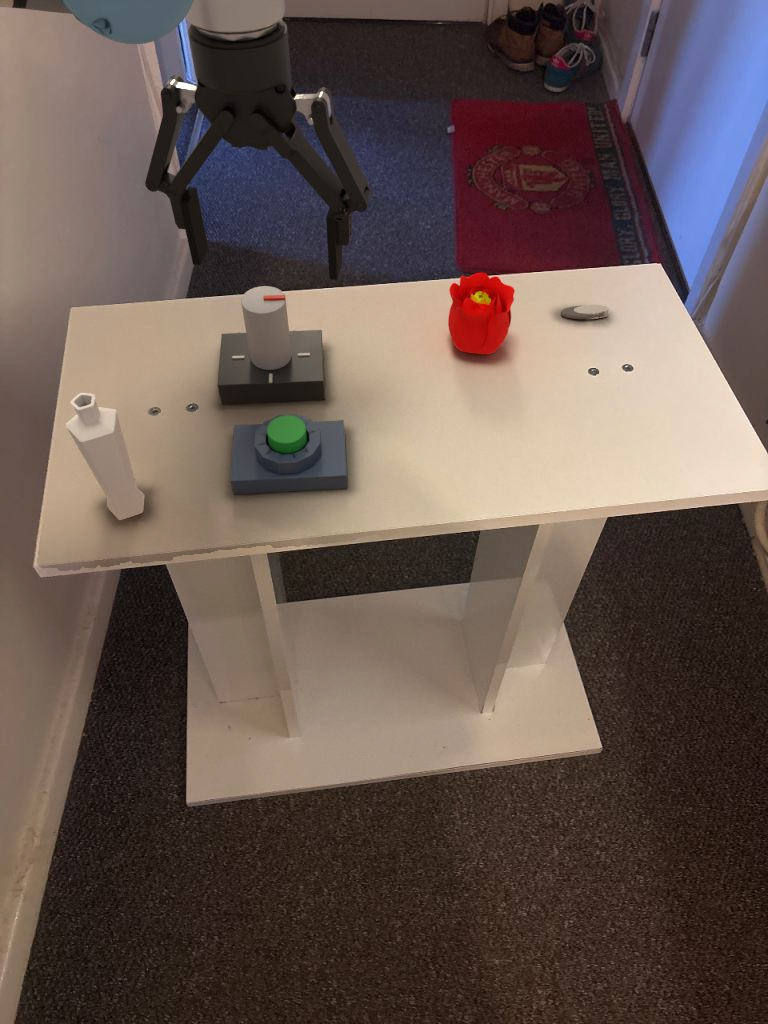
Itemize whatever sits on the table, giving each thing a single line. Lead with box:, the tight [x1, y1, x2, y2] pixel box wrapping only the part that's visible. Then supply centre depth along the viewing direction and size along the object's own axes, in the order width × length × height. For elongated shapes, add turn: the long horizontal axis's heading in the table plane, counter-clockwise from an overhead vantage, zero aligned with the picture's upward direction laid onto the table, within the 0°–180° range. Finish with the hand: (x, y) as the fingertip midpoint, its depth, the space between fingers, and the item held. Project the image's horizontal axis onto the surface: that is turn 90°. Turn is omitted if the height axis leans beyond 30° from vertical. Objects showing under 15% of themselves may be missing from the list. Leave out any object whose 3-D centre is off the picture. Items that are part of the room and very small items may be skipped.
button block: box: [230, 413, 348, 495], centre depth 80 cm, size 12×8×4 cm, turn 94°
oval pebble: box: [560, 304, 610, 320], centre depth 98 cm, size 6×2×1 cm, turn 87°
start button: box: [267, 414, 307, 454], centre depth 78 cm, size 4×4×2 cm
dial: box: [240, 285, 292, 370], centre depth 85 cm, size 5×5×8 cm
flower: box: [447, 272, 515, 355], centre depth 91 cm, size 8×8×8 cm
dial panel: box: [217, 329, 326, 405], centre depth 89 cm, size 12×9×3 cm
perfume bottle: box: [65, 392, 146, 521], centre depth 72 cm, size 5×4×15 cm
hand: (268, 264), depth 74 cm, fingers open, 13 cm apart
